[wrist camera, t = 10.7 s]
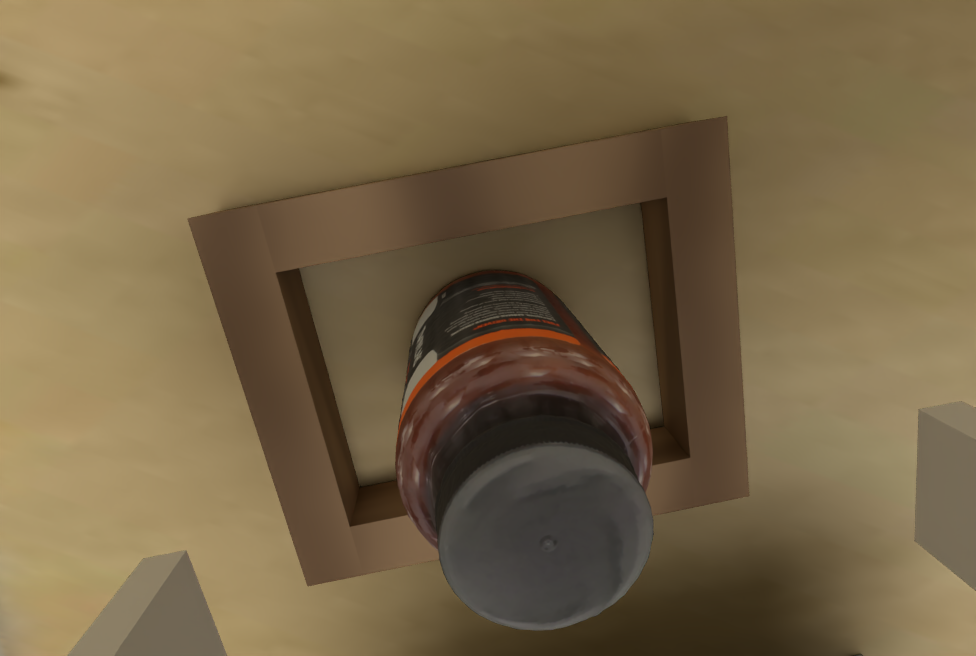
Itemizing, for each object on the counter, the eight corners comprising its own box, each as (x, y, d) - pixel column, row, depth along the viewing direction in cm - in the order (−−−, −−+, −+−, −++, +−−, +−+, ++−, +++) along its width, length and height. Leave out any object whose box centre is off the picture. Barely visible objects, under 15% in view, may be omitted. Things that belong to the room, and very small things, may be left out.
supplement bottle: (377, 324, 21) (307, 505, 10) (520, 233, 20) (611, 318, 9) (468, 450, 22) (494, 724, 11) (602, 368, 22) (761, 574, 11)
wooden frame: (691, 121, 20) (726, 116, 17) (717, 461, 23) (749, 495, 21) (219, 211, 19) (187, 218, 17) (321, 541, 23) (307, 586, 20)
